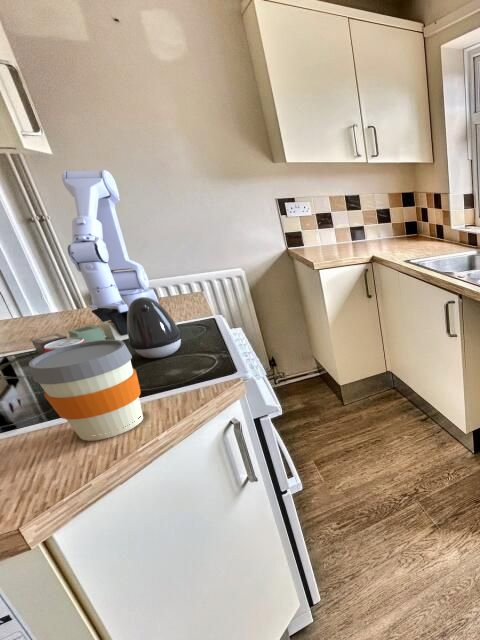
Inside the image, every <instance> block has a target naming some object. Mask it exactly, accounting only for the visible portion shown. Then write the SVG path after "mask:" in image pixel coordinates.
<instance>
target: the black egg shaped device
mask: <svg viewBox="0 0 480 640" xmlns="http://www.w3.org/2000/svg"><path fill="white" fill-rule="evenodd" d="M127 331H128V342H129V345H130V348H131V349H133V350H134V351H135V352H136V353H137V354H138V355H140V357H144V358H146V359H159V358H164V357H168V356H170V355H173V354H174V353H176V352H177V351H178V350H179V348H180V347H181V344H182V333H181V331H180V329H179V328H178V326H177V324H176V321H174V319H173V318H172V316H171V315H170V314H169V312H168V311H167V310H166V309H165V308H164V307H163V305H161V304H160V303H159V301H158V302H156V301H155V300H153V299H151V298H147V297H141V298H137V299H135V300H133V301H132V302H131V304H130V306H129V308H128V313H127Z"/></svg>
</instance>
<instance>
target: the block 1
mask: <svg viewBox="0 0 480 640" xmlns="http://www.w3.org/2000/svg"><path fill="white" fill-rule="evenodd" d="M66 338H68V337H67V335H64V334H61V333H54V334H50V335H47V336H46V335H45V336H43V337H39V338H35V339H31V343H32V345H33V347H34V349H35V351H36V354H37V355H38V356H40V355H42V354H44V352H45V348H44V346H45V345H46V344H48V343H51V342H54V341H57V340H61V339H66Z"/></svg>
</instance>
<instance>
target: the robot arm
mask: <svg viewBox="0 0 480 640" xmlns="http://www.w3.org/2000/svg"><path fill="white" fill-rule="evenodd" d="M61 180H62V183H63V185H64V187H65V189H66V190H67V191H68V193H70V195H71V196H72V197H73V198H74V203H75V210H76V215H77V217H75V218H73V219H72V221H71V232H72V233H71V234H72V237H71V239H72V242H71V244H68V245H67V249H66V250H67V254H68V257H69V259H70V261H71V262H72V264H73V265H74V267H75V268H76V270H77V272H79V273H81V276H82V278H83V280H84V283H85V285H86V288H87V290H88V293H89V295H90V297H91V299H90V301H91V304H89V306H88V307H89V309H92V310H91V313H92V314H94V315H95V316H96V317H97V318H99V320H100V321H101V322H105V321H109V320H111V321H112V322H113V324H114V325H115V327H116V329H117V330H118V332H119V333H120V334H121V335H122V336H123V335H127V334H128V331H127V313H128V308H129V306H130V304H131V302H132V301H133V300H135V299H137V298H141V297H147V298H151V299H153V300H155V301H156V302H158V303H159V300H158V298H157V295H156V293H155V291H154V289H153V288H149V287H150V280H149V277H148V274H147V272H146V271H145V268H144V266H143V265H141V263H139V262H136V261H135V260H131V259H130V257H129V253H128V250H127V246H126V243H125V239H124V236H123V232H122V228H121V226H120V222H119V219H118V215H117V210H116V204H117V203H118V202H120V201H121V199H120V193H119V190H118V186H117V183H116V180H115V179H114V177H113V175H112V173H110V172H109V171H108V170H106V169H102V170H64V171H63V172H62V174H61Z"/></svg>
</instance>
